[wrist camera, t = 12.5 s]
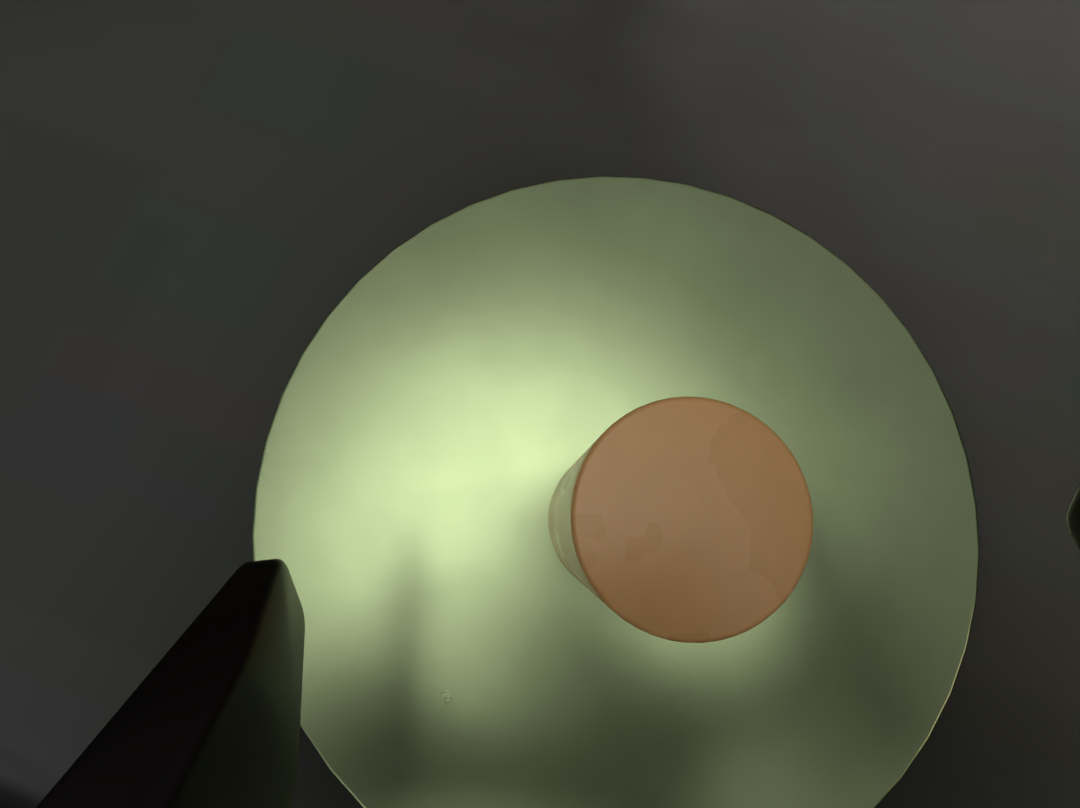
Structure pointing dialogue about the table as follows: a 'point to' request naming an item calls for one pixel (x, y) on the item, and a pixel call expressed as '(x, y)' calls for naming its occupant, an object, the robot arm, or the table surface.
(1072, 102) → the table surface
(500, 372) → the lid
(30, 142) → the table surface
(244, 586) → the robot arm
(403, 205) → the table surface
